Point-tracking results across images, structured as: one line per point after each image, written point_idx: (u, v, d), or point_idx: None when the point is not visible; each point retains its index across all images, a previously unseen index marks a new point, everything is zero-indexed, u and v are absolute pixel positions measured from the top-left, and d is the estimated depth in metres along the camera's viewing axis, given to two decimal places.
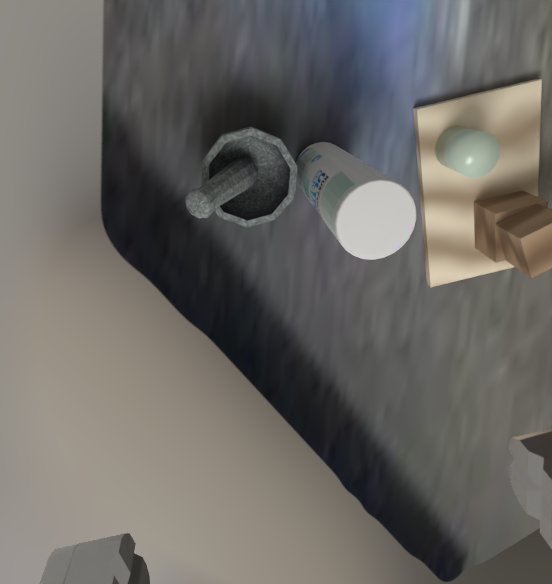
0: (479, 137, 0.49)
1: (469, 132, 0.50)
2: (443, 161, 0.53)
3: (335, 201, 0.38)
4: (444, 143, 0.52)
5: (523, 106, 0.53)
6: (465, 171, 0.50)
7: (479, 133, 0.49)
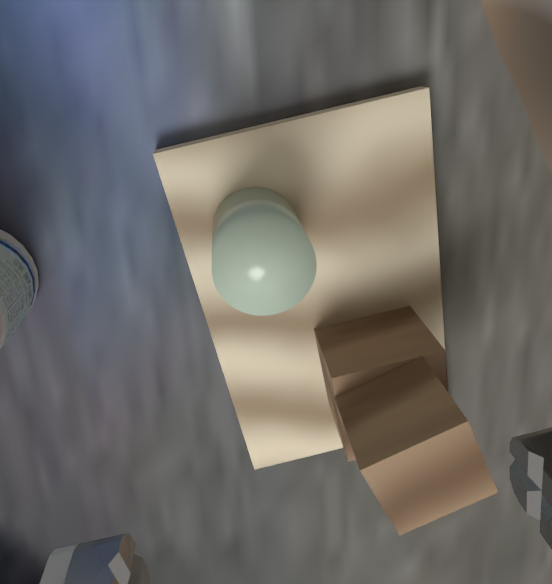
0: (258, 231, 0.20)
1: (243, 215, 0.21)
2: None
3: None
4: (213, 230, 0.24)
5: (394, 145, 0.25)
6: (239, 303, 0.22)
7: (257, 221, 0.20)
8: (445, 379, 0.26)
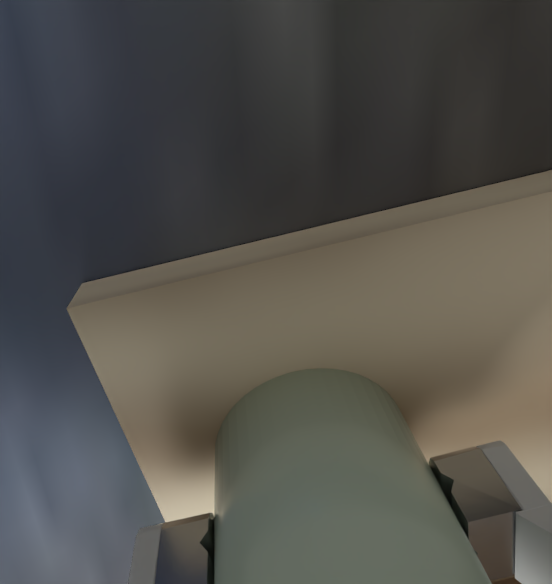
0: None
1: (314, 563, 0.07)
2: None
3: None
4: (217, 501, 0.09)
5: None
6: None
7: None
8: None
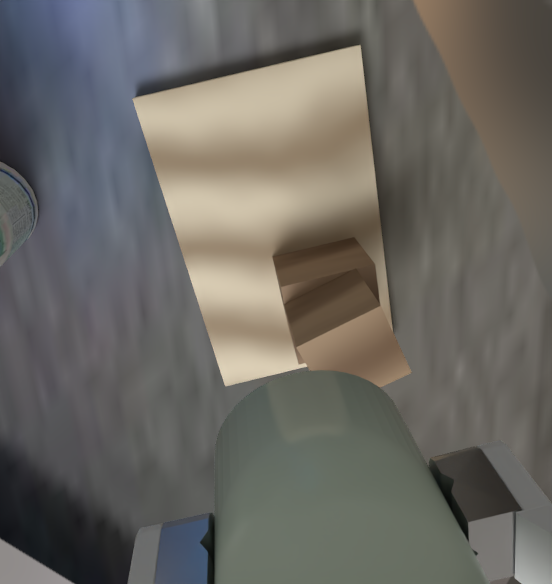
0: None
1: (315, 565, 0.07)
2: None
3: None
4: (217, 503, 0.09)
5: (333, 94, 0.30)
6: None
7: None
8: (377, 290, 0.31)
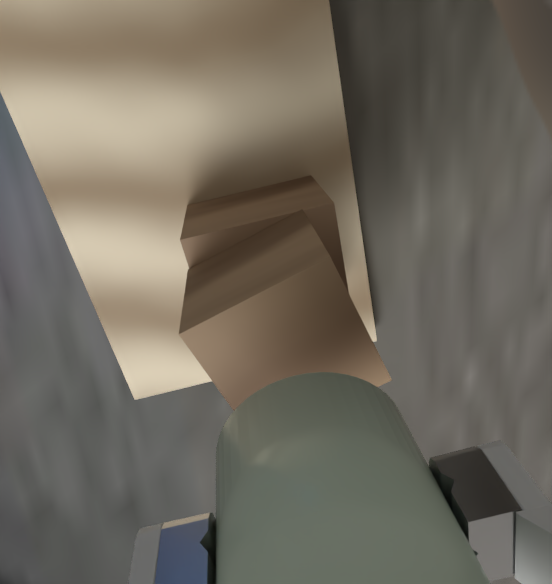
0: None
1: (317, 568, 0.07)
2: None
3: None
4: (219, 505, 0.09)
5: None
6: None
7: None
8: (339, 248, 0.19)
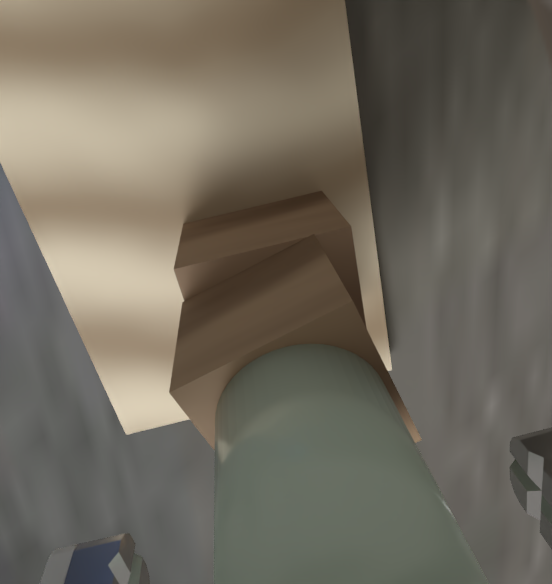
0: (349, 576, 0.07)
1: (301, 497, 0.08)
2: None
3: None
4: (217, 459, 0.10)
5: None
6: None
7: (348, 557, 0.07)
8: (356, 277, 0.17)
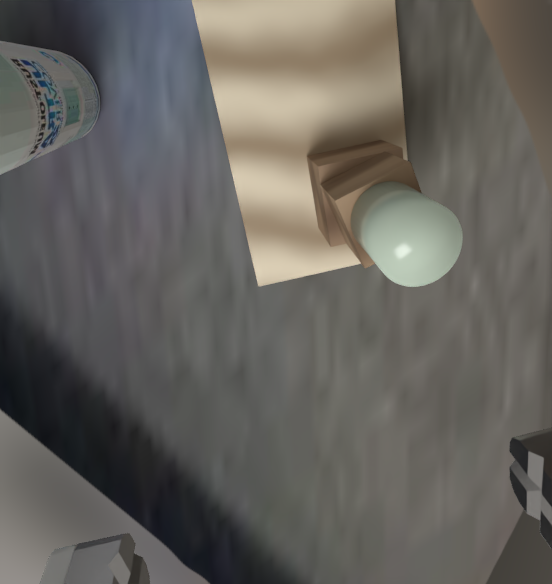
0: (419, 213, 0.24)
1: (402, 200, 0.25)
2: (362, 246, 0.29)
3: None
4: (361, 215, 0.28)
5: (366, 0, 0.34)
6: (394, 274, 0.26)
7: (419, 204, 0.24)
8: None
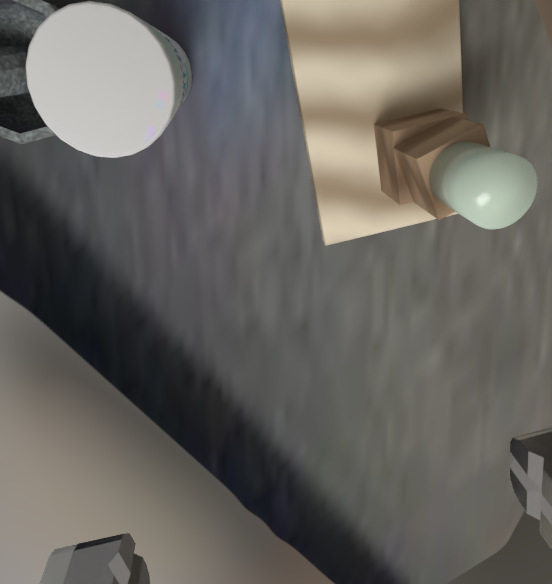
0: (502, 164, 0.29)
1: (485, 154, 0.29)
2: (442, 198, 0.33)
3: None
4: (442, 170, 0.32)
5: None
6: (478, 218, 0.30)
7: (503, 156, 0.28)
8: None
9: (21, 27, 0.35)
